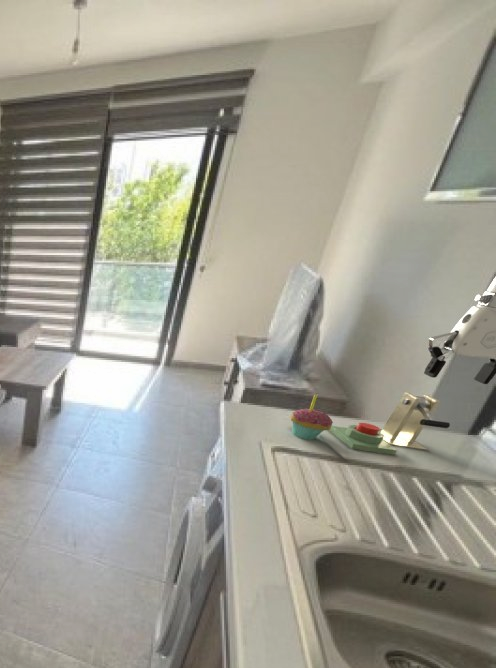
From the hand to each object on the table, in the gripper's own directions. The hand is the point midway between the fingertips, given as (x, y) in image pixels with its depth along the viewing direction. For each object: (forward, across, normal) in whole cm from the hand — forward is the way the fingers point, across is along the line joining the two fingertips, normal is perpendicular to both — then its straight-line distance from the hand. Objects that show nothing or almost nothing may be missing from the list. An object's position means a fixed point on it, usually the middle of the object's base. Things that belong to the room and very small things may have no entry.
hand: (454, 378), depth 110 cm
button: (+16, -10, +1) cm, 19 cm away
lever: (+11, +1, +4) cm, 12 cm away
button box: (+20, -10, +1) cm, 22 cm away
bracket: (+20, +1, +7) cm, 21 cm away
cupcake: (+20, -22, +2) cm, 30 cm away
